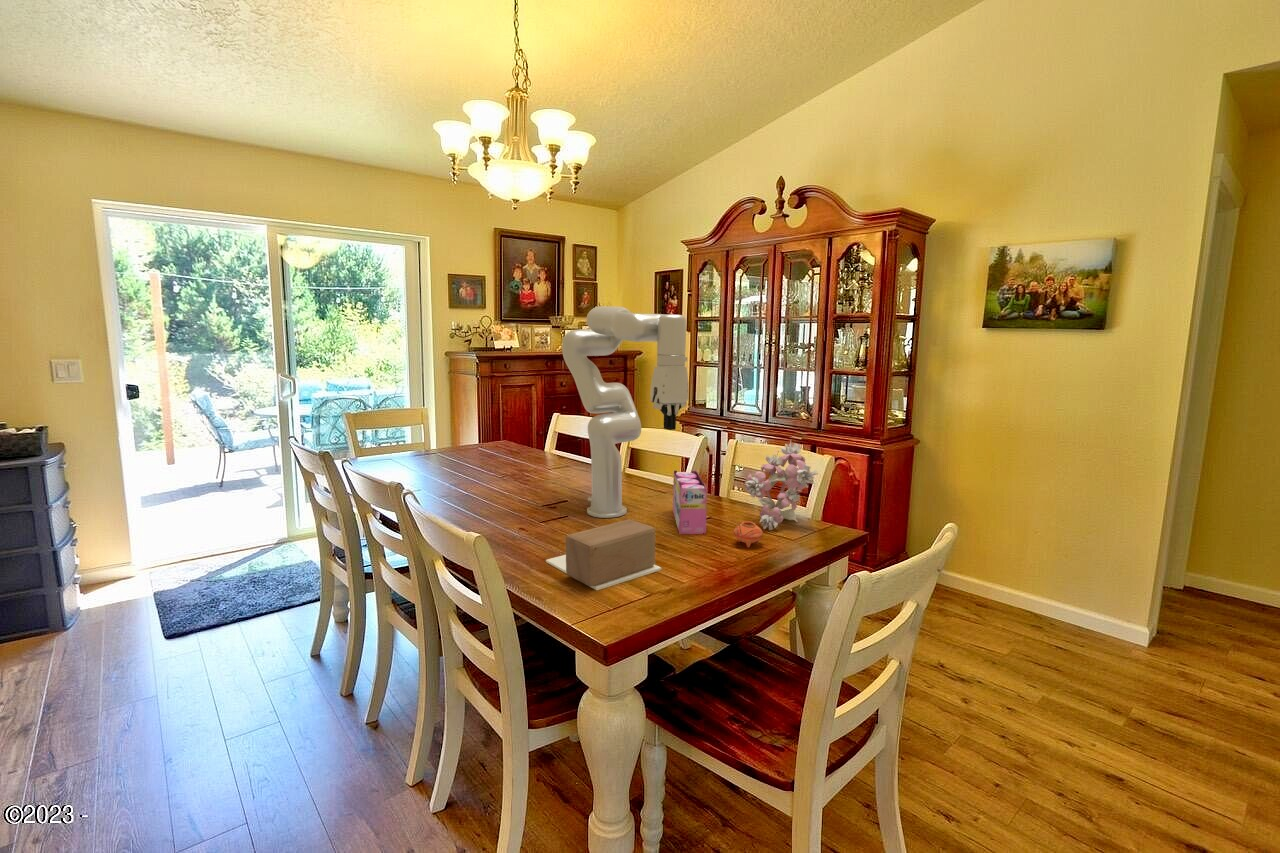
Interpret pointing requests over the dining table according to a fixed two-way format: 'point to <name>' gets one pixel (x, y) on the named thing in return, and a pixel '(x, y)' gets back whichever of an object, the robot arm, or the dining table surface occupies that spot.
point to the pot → (748, 533)
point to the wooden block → (609, 551)
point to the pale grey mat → (561, 565)
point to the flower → (790, 496)
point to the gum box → (689, 502)
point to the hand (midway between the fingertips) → (669, 429)
